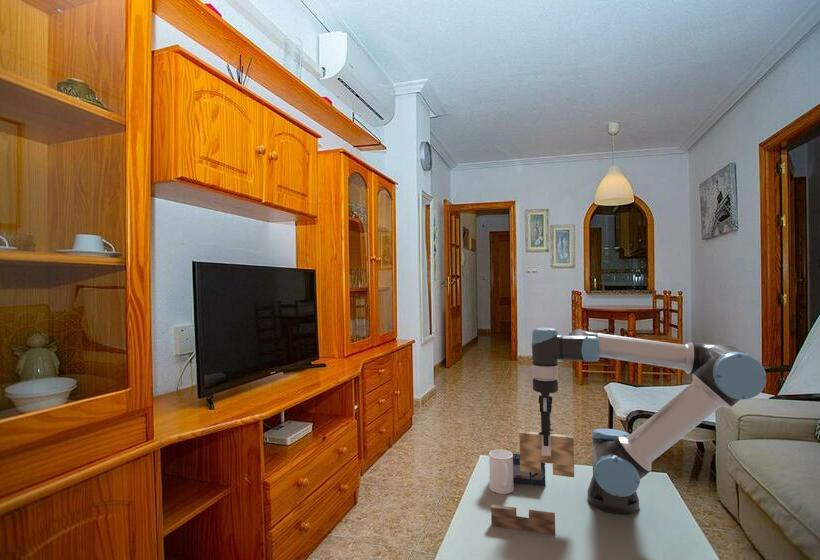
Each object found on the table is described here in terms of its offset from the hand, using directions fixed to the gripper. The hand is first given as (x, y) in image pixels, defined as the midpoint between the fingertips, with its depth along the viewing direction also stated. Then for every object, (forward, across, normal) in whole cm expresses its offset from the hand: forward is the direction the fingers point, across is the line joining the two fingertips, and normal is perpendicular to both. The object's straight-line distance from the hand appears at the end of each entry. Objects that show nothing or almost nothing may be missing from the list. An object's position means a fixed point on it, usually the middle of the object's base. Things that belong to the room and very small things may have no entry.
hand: (546, 453), depth 137 cm
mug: (+19, -10, -15) cm, 26 cm away
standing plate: (+18, +11, -7) cm, 23 cm away
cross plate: (+6, 0, 0) cm, 6 cm away
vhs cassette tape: (+19, -18, -10) cm, 28 cm away
